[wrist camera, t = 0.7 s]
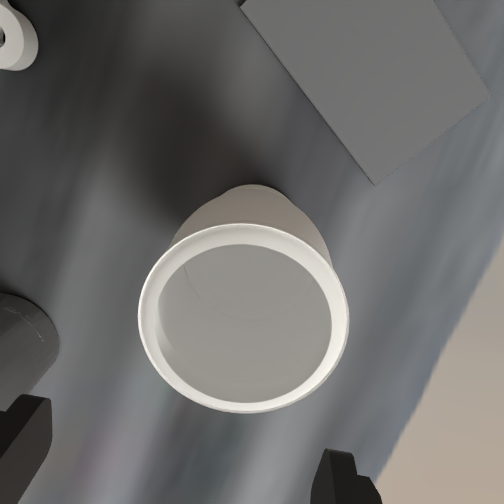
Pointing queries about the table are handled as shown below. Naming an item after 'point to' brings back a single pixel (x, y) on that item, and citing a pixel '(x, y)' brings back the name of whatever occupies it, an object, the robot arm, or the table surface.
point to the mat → (373, 72)
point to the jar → (245, 305)
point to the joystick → (16, 39)
